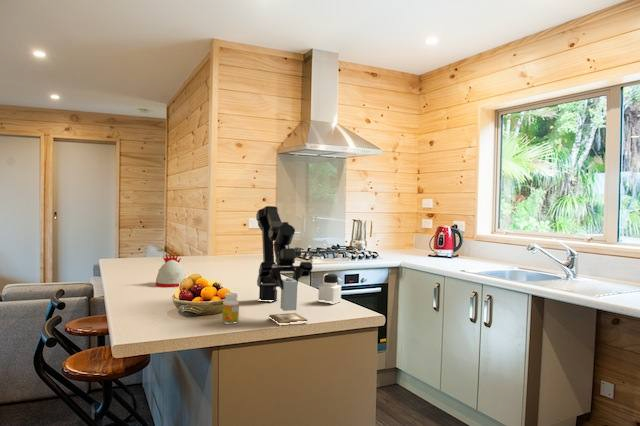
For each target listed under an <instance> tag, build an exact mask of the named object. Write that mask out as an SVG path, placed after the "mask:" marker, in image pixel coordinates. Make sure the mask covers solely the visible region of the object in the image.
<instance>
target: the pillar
mask: <svg viewBox="0 0 640 426" xmlns="http://www.w3.org/2000/svg"><path fill="white" fill-rule="evenodd" d="M282 282H283V290H282V289H281V288H280V309H281V310H282V311H283V312H287V311H297V307H298V306H297V303H298V285H297V283H299V280H298V281H296V280H294V279H293V277H292V278H291V277H287V278H285V279H283V278H282Z"/></svg>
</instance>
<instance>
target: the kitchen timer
mask: <svg viewBox="0 0 640 426" xmlns="http://www.w3.org/2000/svg"><path fill="white" fill-rule="evenodd" d="M162 258H163V261H164V263H162V265H161V267H160V268H159V269H158V273H157V275H156V279H155V286H156V287H160V288H179V287H178V286H179V283H180V282H181V281H182V280H183V279H184V278H186V279H187V277H186V272H185V270H184V268H183V266H182V265H181V264H180V262H181V257H179V259H178V255H176V256H175V253H173V254H172V253H169V256H168V253H165V257H164V256H162Z"/></svg>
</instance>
